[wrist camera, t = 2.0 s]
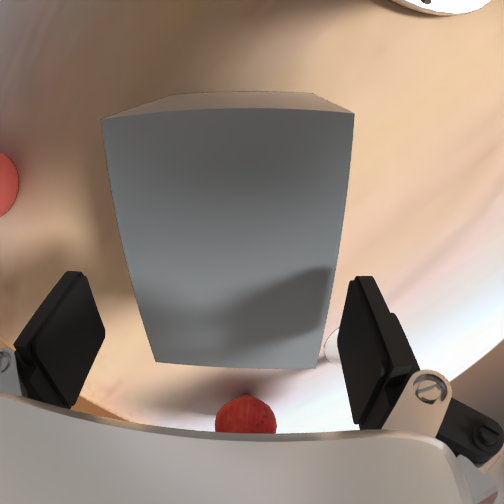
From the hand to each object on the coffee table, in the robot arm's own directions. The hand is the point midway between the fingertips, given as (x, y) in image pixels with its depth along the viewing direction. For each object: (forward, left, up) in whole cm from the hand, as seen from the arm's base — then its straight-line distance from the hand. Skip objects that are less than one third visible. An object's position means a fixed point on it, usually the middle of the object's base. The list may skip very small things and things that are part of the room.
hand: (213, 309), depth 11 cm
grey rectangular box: (-1, 0, -10) cm, 10 cm away
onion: (+21, 0, -10) cm, 24 cm away
